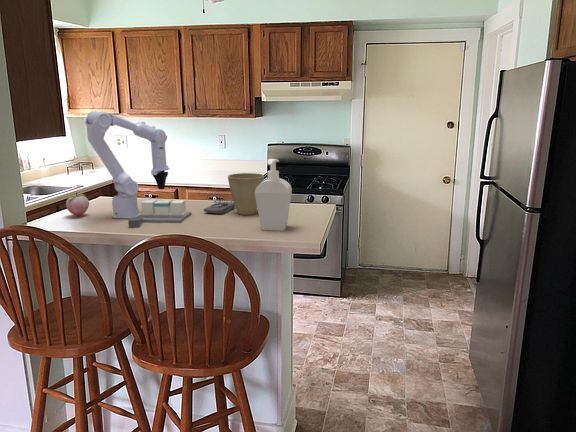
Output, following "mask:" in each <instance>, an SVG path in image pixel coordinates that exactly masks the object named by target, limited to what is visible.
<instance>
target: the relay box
mask: <svg viewBox="0 0 576 432" xmlns="http://www.w3.org/2000/svg"><path fill="white" fill-rule="evenodd" d="M127 221H128V228H129V229H132V228H133V229H136V228H141V227H142V225H143V222H142V216H138V217H131V218H128V220H127Z"/></svg>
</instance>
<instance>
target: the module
mask: <svg viewBox="0 0 576 432" xmlns="http://www.w3.org/2000/svg"><path fill="white" fill-rule="evenodd" d="M172 201H173V200H172V199H158V200H157V201H156V202H155V203H154V207H155V215H169V214H171V208H170V203H171V202H172Z"/></svg>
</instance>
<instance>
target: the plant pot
mask: <svg viewBox="0 0 576 432" xmlns="http://www.w3.org/2000/svg"><path fill="white" fill-rule="evenodd" d="M264 176H265V175H264V174H261V173H256V172H254V173H252V172H240V173H232V174H229V175H227V179H228V187H229V190H230V195H231V197H232V200H233V201H232V202H234V204H235V207H236V209H235V210H236V212H237V214H239V215H244V216H248V215H249V216H251V215H254V214H256V211H258V208H257V203H256V198H255V190H256V188H257V187H258V185H259V184H260V183H262V182H263V181H264Z"/></svg>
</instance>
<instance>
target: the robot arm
mask: <svg viewBox="0 0 576 432" xmlns="http://www.w3.org/2000/svg"><path fill="white" fill-rule="evenodd" d="M84 124H85V127H86V137H87V140H88V142H89V144H90V145H91V147H92V148H93V150H94V151H95V153H96V154H97V156H98V158H99V159H100V160H101V162H102V163H103V165H104V166H105V168H106V169H107V171H108V173H109V174H110V175H111V176H112V180H111V181H112V183H113V185H114V189H115V191H116V192H117V195H114V196H113V198H112V202H111V206H112V214H113V215H112V219H130V218H131V217H141V216H142V212H139V205H138V196H137V194H138V192H139V189H140V188H139V187H140V186H139V184H138V182H136V181H135V180H133V179H132V177H131V176H130V175H129V174H128V173H127V172H125V170H124V168H123V166H122V165H121V164H120V162H119V160H118V159H117V158H116V155H115V154H114V152H113V151H112V149H111V148H110V146H109V145H108V143H107V142H106V140H105V139H104V138H105V135H106V132H107V131H108V130H109V129H110V127H114V126H117V127H120V128H123V129H126V130H129V131H132V133H133V135H134V136H136V137H139V138H142V139H145V140H148V141H149V142H150V147H151V159H152V160H151V162H152V169H151V170H150V172H151V176H152V177H153V178H154V180H155V182H156V184H157V189H158V190H165V186H166V180H167V178H168V175H169V171H168V170H170V167H169V165H167V154H166V142H167V140H168V135H167V134H166V132H165V131H164V130H163V129H160V128H159V129H158V128H157V127H156V126H154V125H153V126H152V125H148V124H146V122H145V121H141V122H140V121H138V122H133V121H130V120H128V119H126V118H123V117H122V116H118V115H116V114H114V113H111V112H109V113H108V112H106V111H90V112H88V114H87V116H86V118H85V121H84Z"/></svg>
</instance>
